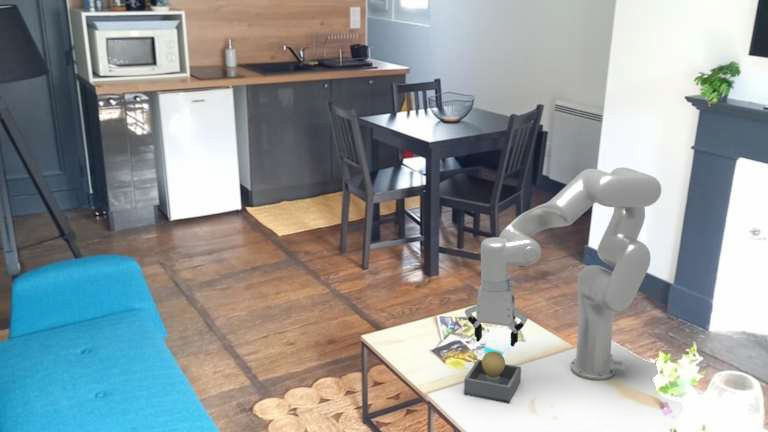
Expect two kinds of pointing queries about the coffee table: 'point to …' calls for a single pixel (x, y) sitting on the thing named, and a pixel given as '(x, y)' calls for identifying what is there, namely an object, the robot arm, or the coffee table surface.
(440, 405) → the coffee table surface
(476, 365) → the bin
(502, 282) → the robot arm
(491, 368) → the light bulb
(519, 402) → the coffee table surface
